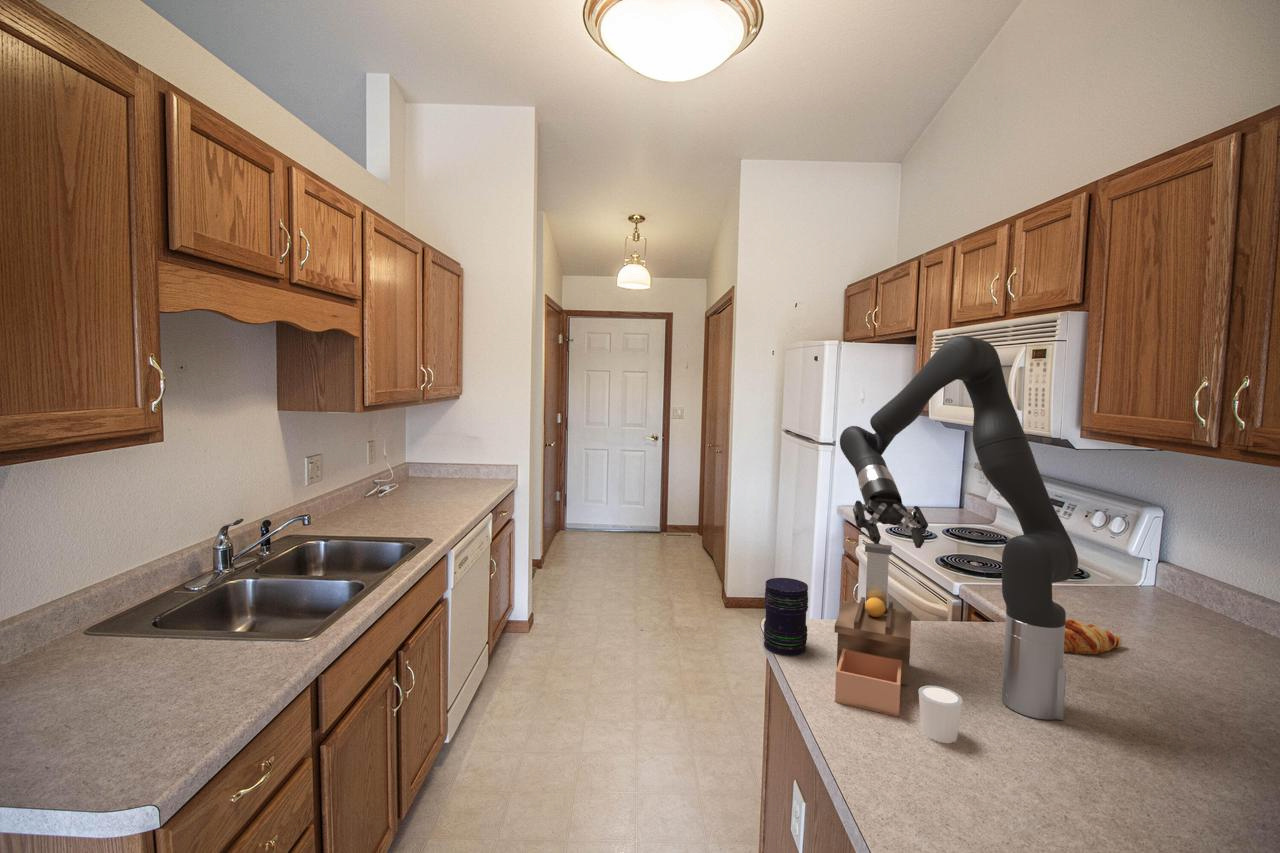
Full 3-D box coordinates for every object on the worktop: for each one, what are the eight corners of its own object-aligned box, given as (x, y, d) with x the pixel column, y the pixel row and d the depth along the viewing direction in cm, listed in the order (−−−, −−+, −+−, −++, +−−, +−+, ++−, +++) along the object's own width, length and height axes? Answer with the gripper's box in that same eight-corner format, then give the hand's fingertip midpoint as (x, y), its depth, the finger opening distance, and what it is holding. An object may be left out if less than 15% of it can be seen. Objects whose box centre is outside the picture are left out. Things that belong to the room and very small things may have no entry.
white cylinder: (967, 748, 95) (969, 707, 95) (923, 742, 96) (924, 702, 96) (953, 725, 102) (954, 687, 101) (912, 720, 103) (913, 682, 103)
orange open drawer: (900, 689, 114) (901, 660, 114) (898, 717, 104) (900, 685, 104) (842, 676, 119) (843, 648, 119) (834, 701, 109) (835, 671, 109)
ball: (885, 615, 122) (886, 596, 121) (884, 621, 118) (885, 602, 118) (865, 611, 123) (866, 593, 123) (863, 618, 120) (864, 599, 120)
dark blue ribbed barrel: (759, 651, 130) (761, 587, 129) (766, 635, 139) (768, 575, 138) (804, 659, 126) (806, 594, 126) (808, 642, 136) (810, 580, 135)
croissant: (1108, 656, 138) (1097, 621, 142) (1144, 653, 129) (1132, 617, 133) (1026, 655, 137) (1016, 620, 140) (1057, 653, 128) (1046, 616, 131)
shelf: (909, 665, 125) (911, 604, 124) (908, 699, 110) (910, 631, 110) (842, 651, 131) (844, 594, 130) (832, 682, 116) (834, 618, 116)
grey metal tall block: (889, 607, 125) (891, 545, 125) (888, 613, 122) (891, 549, 121) (864, 603, 128) (866, 542, 127) (862, 608, 124) (865, 546, 124)
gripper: (851, 473, 126) (869, 527, 113) (915, 479, 126) (941, 534, 113) (842, 497, 131) (858, 552, 118) (904, 503, 130) (927, 558, 118)
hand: (898, 543), depth 116 cm, fingers open, 8 cm apart
